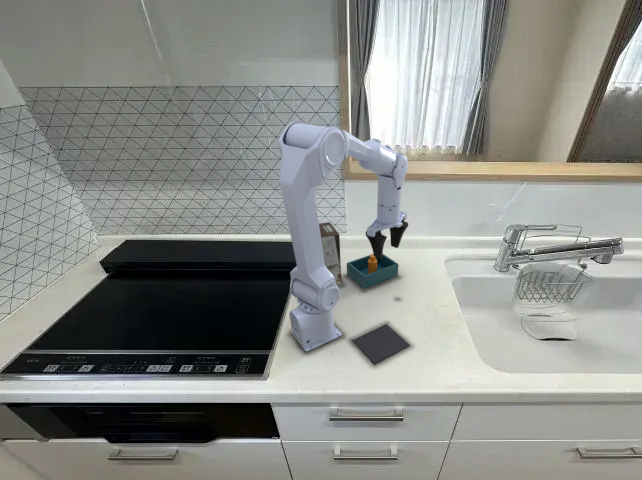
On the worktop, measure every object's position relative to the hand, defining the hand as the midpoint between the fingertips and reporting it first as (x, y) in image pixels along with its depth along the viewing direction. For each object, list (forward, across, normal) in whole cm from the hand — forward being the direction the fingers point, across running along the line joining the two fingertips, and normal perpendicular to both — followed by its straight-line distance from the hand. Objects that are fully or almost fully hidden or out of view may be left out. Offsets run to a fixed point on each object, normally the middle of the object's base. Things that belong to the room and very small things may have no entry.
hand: (386, 251), depth 88 cm
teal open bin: (+10, 0, +5) cm, 11 cm away
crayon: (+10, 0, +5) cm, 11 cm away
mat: (+10, -20, -15) cm, 27 cm away
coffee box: (+10, -10, +14) cm, 20 cm away
